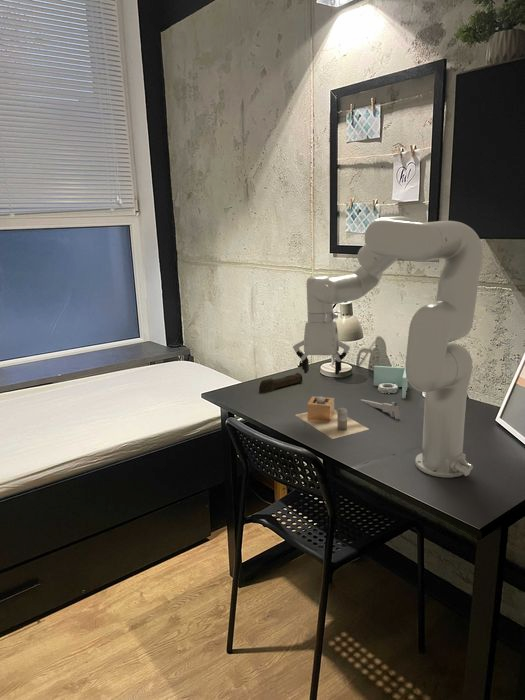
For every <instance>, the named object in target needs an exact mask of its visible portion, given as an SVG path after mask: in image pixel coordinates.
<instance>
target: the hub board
mask: <svg viewBox="0 0 525 700" xmlns="http://www.w3.org/2000/svg"><path fill="white" fill-rule="evenodd" d="M316 397H317V401H316V402H315V403H318V404H327V403H328V402H325V397H326V396H316ZM295 416H296V417H297V418H299V419H300V420H302V421H303V422H306V424H308V425H309V426H312V427H313V428H315V429H316V430H317V431H319V432H321V433H322V434H323V435H325V436H326V437H329V438H330V439H331V440H334V439H339V438H343V437H346V436H349V435H353V434H358V433H362V432H365V431H369V430H370V429H369V428H368V427H366V426H364V425H363V424H361V423H359V422H358V421H356V420H354V419H352V418H350V417H349V416H348V409H347V408H345V407H339V408H337V409H334V414H333V416H332V418H331V420H330V421H322V420H311V419H308V417H307V412H302V413H297V414H295Z"/></svg>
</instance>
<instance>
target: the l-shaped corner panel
mask: <svg viewBox="0 0 525 700" xmlns="http://www.w3.org/2000/svg"><path fill="white" fill-rule="evenodd" d="M408 384H409V381H408V379H407V376H406V370H405V367H404V366H403V367H401V366H383V365H374V366H373V387H378V388H377V392H379V393H381V394H384V393H385V394H384V395H386V393H388V394H387V395H391V394H390V393H393V394H396V393H398V392H399V387H402V388H401V399H404V398H405V399H406V395H407V392H408V391H407V390H408ZM397 390H398V391H397ZM406 391H407V392H406Z"/></svg>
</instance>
